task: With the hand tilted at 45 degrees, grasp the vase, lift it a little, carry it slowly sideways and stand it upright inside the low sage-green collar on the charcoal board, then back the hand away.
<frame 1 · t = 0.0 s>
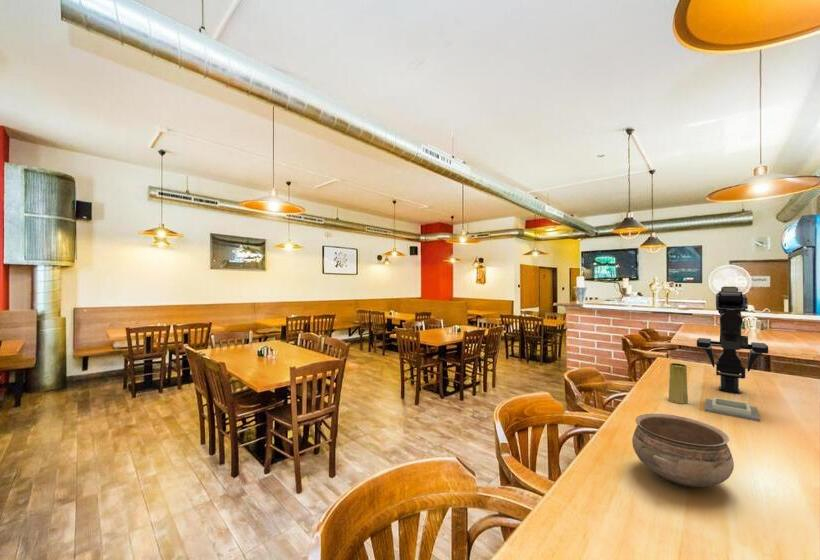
hand: (730, 369, 126), 15 cm above the table, tool pointing down, fingers open, 9 cm apart
vase: (678, 401, 134), on the table
cooking pot: (679, 480, 83), on the table
vase holder: (730, 410, 125), on the table
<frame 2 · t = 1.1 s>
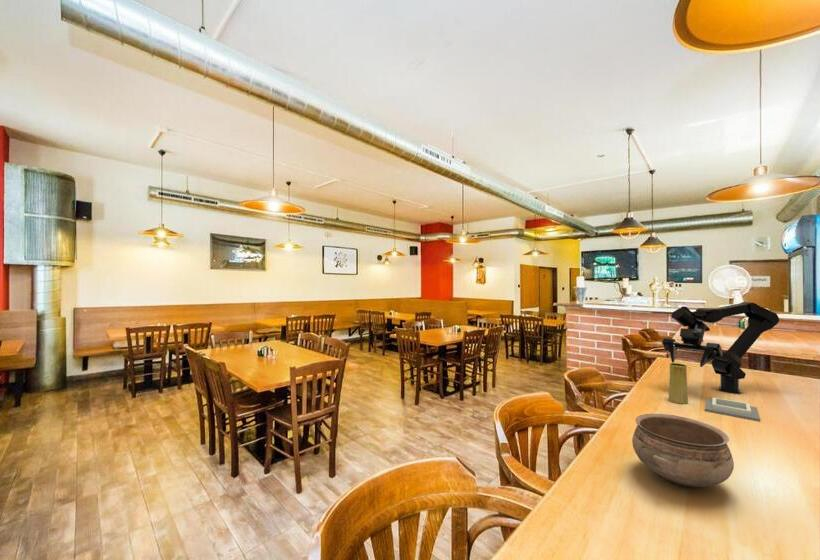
hand: (686, 364, 139), 13 cm above the table, tool tilted 45°, fingers open, 9 cm apart
nothing on the table moved.
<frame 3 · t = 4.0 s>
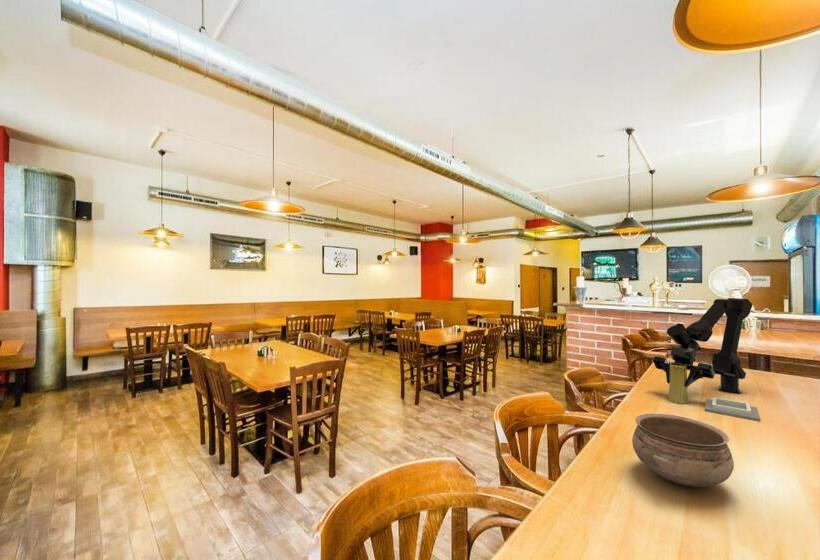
hand: (676, 384, 134), 7 cm above the table, tool tilted 45°, fingers closed on vase, 5 cm apart
vase: (678, 401, 134), on the table, touching gripper
everything else where it was.
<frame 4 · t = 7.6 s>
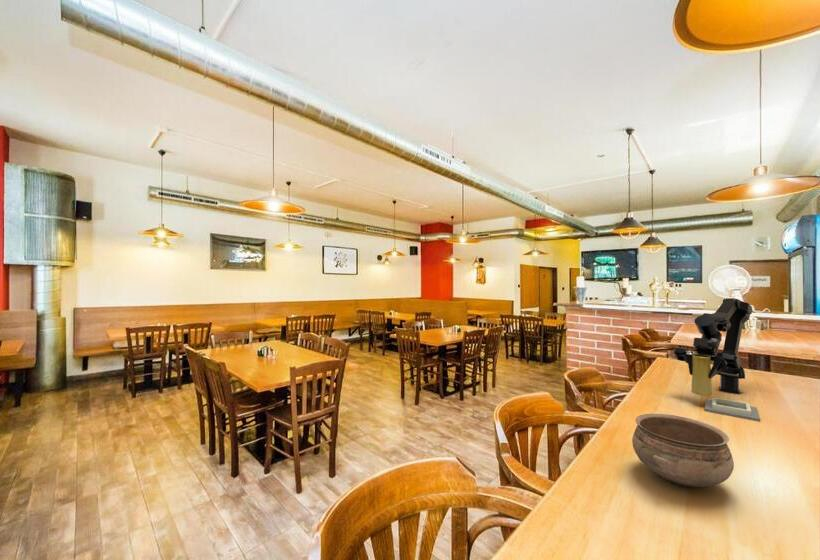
hand: (700, 376, 130), 11 cm above the table, tool tilted 45°, fingers closed on vase, 5 cm apart
vase: (701, 394, 130), point 4 cm above the table, touching gripper
everything else where it was.
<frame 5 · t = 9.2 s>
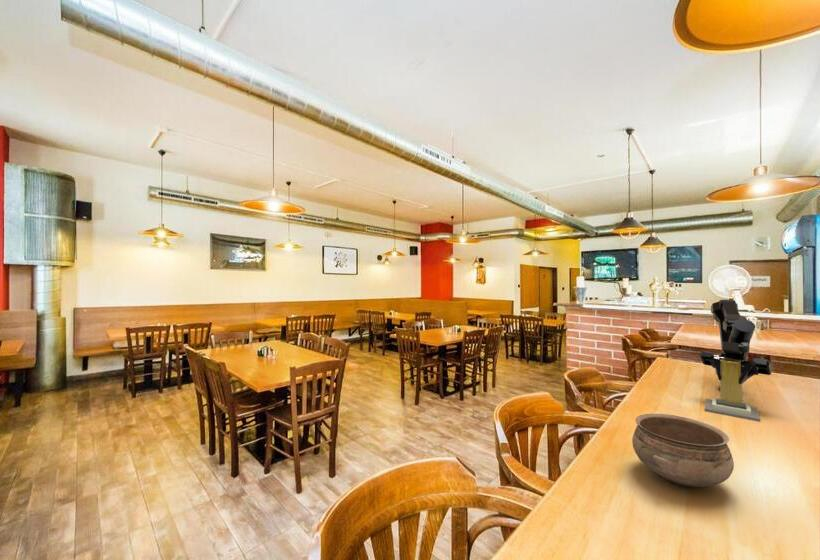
hand: (729, 381, 124), 11 cm above the table, tool tilted 45°, fingers closed on vase, 5 cm apart
vase: (731, 400, 125), point 3 cm above the table, touching gripper
everything else where it was.
when the fingers open (8 cm above the table, at t = 10.8 s): vase stays where it is, resting on vase holder.
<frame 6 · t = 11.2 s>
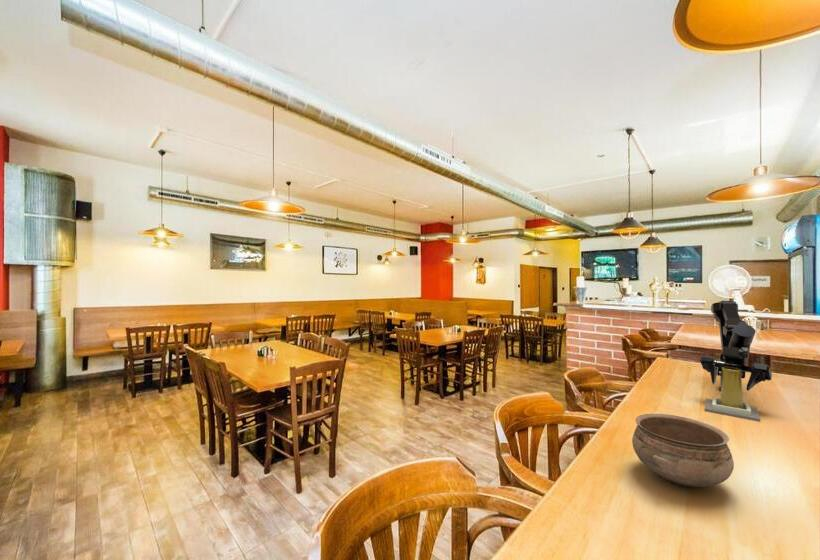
hand: (729, 386, 124), 9 cm above the table, tool tilted 45°, fingers open, 9 cm apart
vase: (731, 408, 125), point 1 cm above the table, touching vase holder
everything else where it was.
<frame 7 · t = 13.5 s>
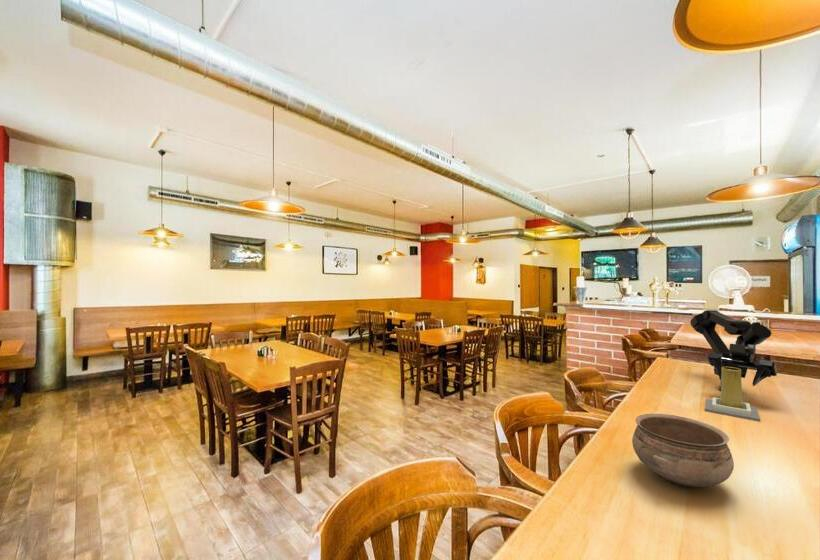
hand: (736, 382, 130), 9 cm above the table, tool tilted 45°, fingers open, 9 cm apart
nothing on the table moved.
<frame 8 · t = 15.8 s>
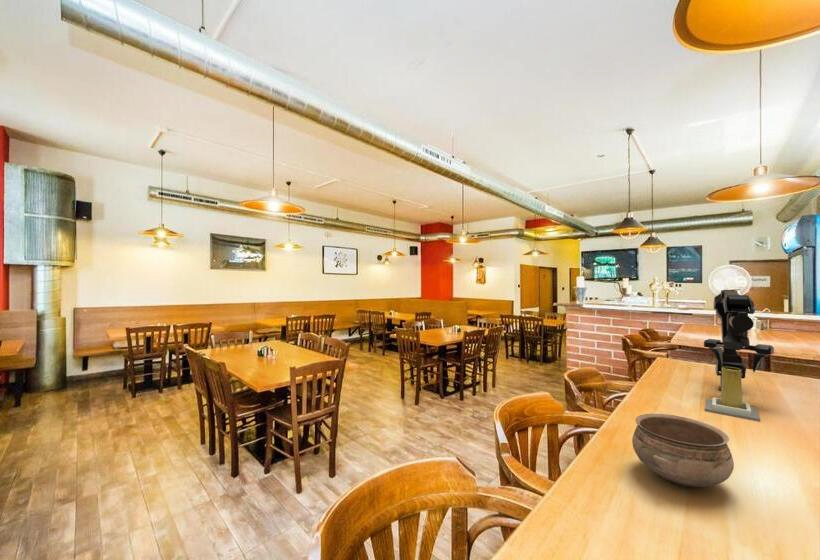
hand: (737, 369, 132), 13 cm above the table, tool pointing down, fingers open, 9 cm apart
nothing on the table moved.
at the end: vase 0.2 cm off-centre on the vase holder, point 0.6 cm above the vase holder's base; vase tilted 0°; the gripper is holding nothing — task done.
